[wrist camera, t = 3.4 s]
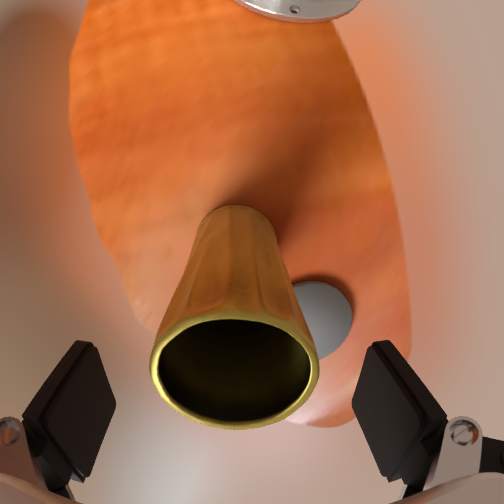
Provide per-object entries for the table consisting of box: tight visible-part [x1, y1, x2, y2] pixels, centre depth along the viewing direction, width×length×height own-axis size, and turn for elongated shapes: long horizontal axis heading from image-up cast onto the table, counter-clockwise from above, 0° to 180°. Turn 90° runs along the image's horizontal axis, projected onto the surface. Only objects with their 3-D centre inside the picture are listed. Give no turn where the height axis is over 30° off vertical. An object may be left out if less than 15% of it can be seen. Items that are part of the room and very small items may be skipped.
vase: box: [149, 205, 320, 430], centre depth 15 cm, size 6×6×14 cm
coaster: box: [292, 281, 352, 360], centre depth 23 cm, size 8×8×1 cm
